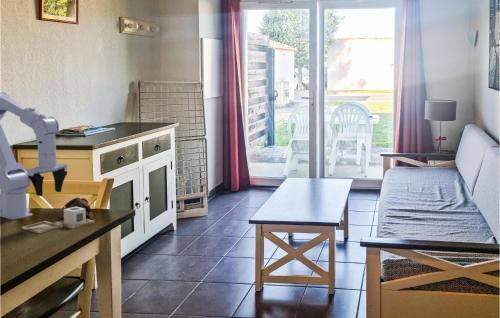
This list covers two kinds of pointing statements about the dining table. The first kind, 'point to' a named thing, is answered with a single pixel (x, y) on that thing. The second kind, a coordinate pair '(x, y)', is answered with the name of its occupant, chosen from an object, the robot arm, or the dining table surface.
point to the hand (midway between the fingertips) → (49, 193)
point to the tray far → (75, 225)
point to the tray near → (42, 227)
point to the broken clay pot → (79, 205)
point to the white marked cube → (74, 216)
